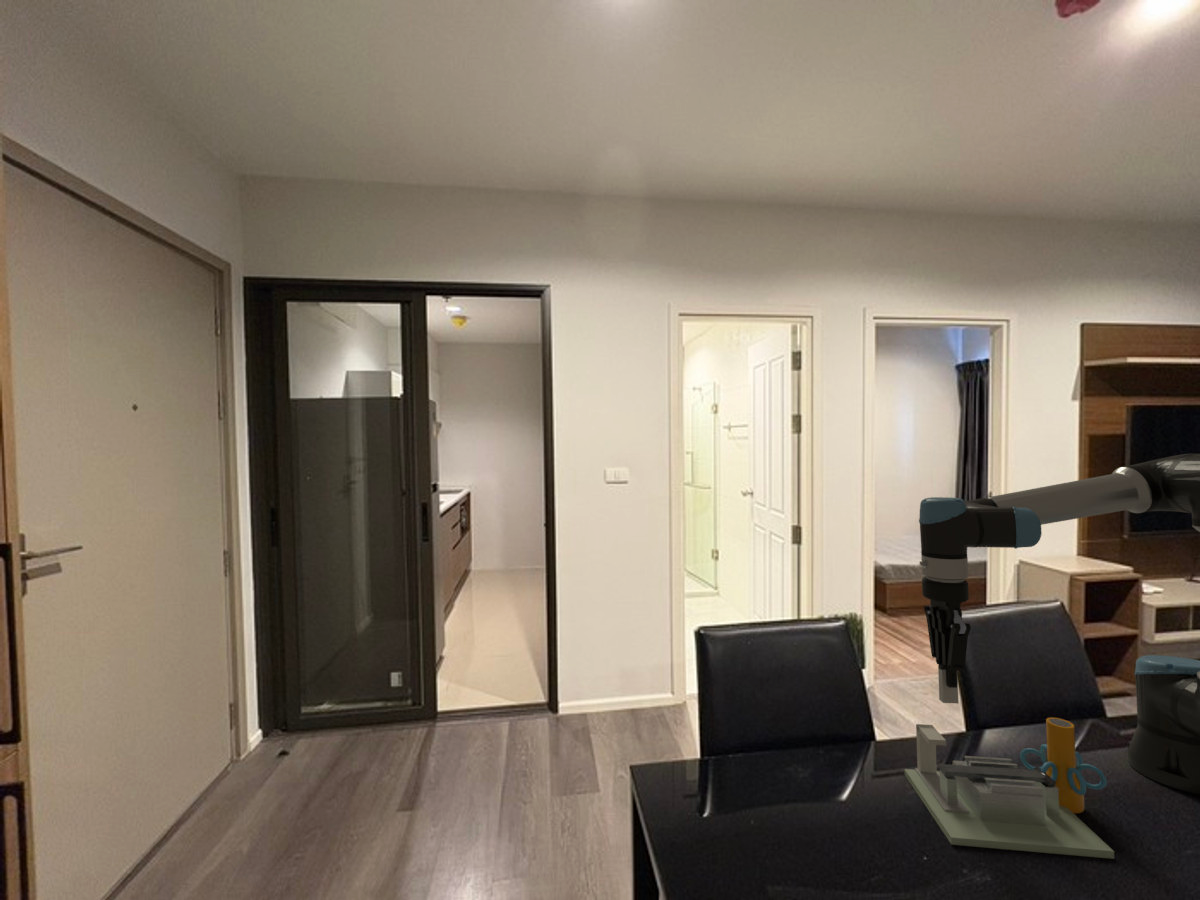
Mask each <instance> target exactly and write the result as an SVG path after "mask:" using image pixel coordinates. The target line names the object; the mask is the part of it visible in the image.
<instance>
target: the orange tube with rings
mask: <svg viewBox="0 0 1200 900" xmlns="http://www.w3.org/2000/svg"><path fill="white" fill-rule="evenodd" d="M1045 724H1046V725H1045V726H1046V743H1043V744H1041V745H1040V747H1039V750H1038V749H1036V748H1031V747H1028V748H1027V747H1026V748H1024V749H1022V750H1021V751H1020V754H1019V757H1020V761H1021V763H1022V764H1023V766H1024V767H1026V768H1027V770H1034V768H1035V767H1036V766H1033V765H1031V764H1030V763H1029V762H1028V761H1027V759H1026V755H1028V754H1030V753H1031V754H1035V755H1037V756H1039V758H1041V761H1042V763H1043V764H1042V765H1041V766H1040V767H1039V766H1038V767H1039V768H1040V769H1041V771H1042V772H1045V773H1046V774H1047V775H1048V776H1049V777H1050V778H1052V779H1053V780H1054V781H1055V783H1056V784H1055V786H1056V787H1057V788H1058V795H1059V805H1060V806H1063V807H1067V808H1068V809H1069V810H1070V811H1071V812H1072V813H1073V814H1081V813H1084V811H1085V794H1086V793H1087V788H1088V789H1090V790H1097V791H1098V790H1102V789H1104V788H1105V787H1106V786H1107V785H1108V784H1107V783H1108V781H1107V780H1108V779H1107V777H1106V775H1105V774H1104V772H1103V771H1102V770H1101V769H1100V768H1098V767H1096V766H1094V765H1092V764H1089V763H1084V759H1083V756H1082V755H1081V753H1079V752H1078V751H1076V737H1075V734H1076V733H1075V724H1074V723H1072V722H1071V721H1069V720H1066V719H1063V718H1060V717H1047V718H1046V719H1045ZM1045 751H1046V752H1047V753H1046V752H1045ZM1046 755H1047V756H1046ZM1076 760H1077V761H1076ZM1083 770H1091V771H1093V772H1094V773H1097V775H1098V777H1099V778H1100V782H1099V783H1096V784H1092V783H1089V782H1087V781H1086V780H1085V778H1084V776H1083V774H1082V771H1083Z"/></svg>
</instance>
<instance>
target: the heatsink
mask: <svg viewBox="0 0 1200 900" xmlns="http://www.w3.org/2000/svg"><path fill="white" fill-rule="evenodd" d="M952 765H964V766H979V767H995V768H1010V769H1019V765H1018V764H1017V763H1014V762H1013V759H1011V758H1005V757H1002V758H1001V757H992V756H991V757H989V756H988V757H987V756H975V755H974V756H972V755H971V756H970V755H964V760H952ZM939 771H940V795H941V796H942V797H943V799H944V800H945V801H946V803H947V804H948V805H957V791H958V793H959V794H960V795H961V796H962V798H963V799H964V800H965V802H966V803H967V804H968V805H969V807H970V808H971V809H972V810H973V812H974V813H975V814H976V815H977V817H978V818H979V819H980V820H981V821H986V822H999V823H1011V824H1023V825H1036V826H1045V815H1046V816H1057V817H1059V795H1058V788H1057V787H1056V786H1053V787H1051V786H1049V785H1048V784H1047V783H1045V782H1035V781H1027V780H1012V779H997V778H972V777H958V776H945V775H944V774H943V772H942V771H941V770H940V769H939Z"/></svg>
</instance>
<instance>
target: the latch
mask: <svg viewBox="0 0 1200 900" xmlns="http://www.w3.org/2000/svg"><path fill="white" fill-rule="evenodd" d="M915 729H916V730H915V732H916V735H915V736H916V760H917V761H916V762H917V764H916V765H917V766H916V768H918V769H919V771H920V772H926V773H937V771H938V769H937V768H938V767H937V746H945V747H946V746H947V740H946V739H945V737H943V735H942V734H941V733H940V732H939V731H938V730H937V728H936V727H934V726H933V724H918V723H916V724H915Z"/></svg>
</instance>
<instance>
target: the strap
mask: <svg viewBox="0 0 1200 900" xmlns="http://www.w3.org/2000/svg"><path fill="white" fill-rule="evenodd" d="M1034 767H1035V768H1034V770H1030V769H1022V768H1018V769H1010V768H995V767H979V766H964V765H953V764H948V763H947V764H944V763H938V768H939V771H940V770H941V771H942V772H943V774H944V775H945V776H958V777H972V778H997V779H1012V780H1027V781H1035V782H1045V783H1047V784H1048V785H1049V786H1051V787H1053V786H1055V784H1056V783H1055V781H1054V780H1053V779H1052V778H1050V777H1049V776H1048V775H1047V774H1046V773H1045V772H1042V771H1041V769H1040V768H1039V766H1034Z"/></svg>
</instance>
